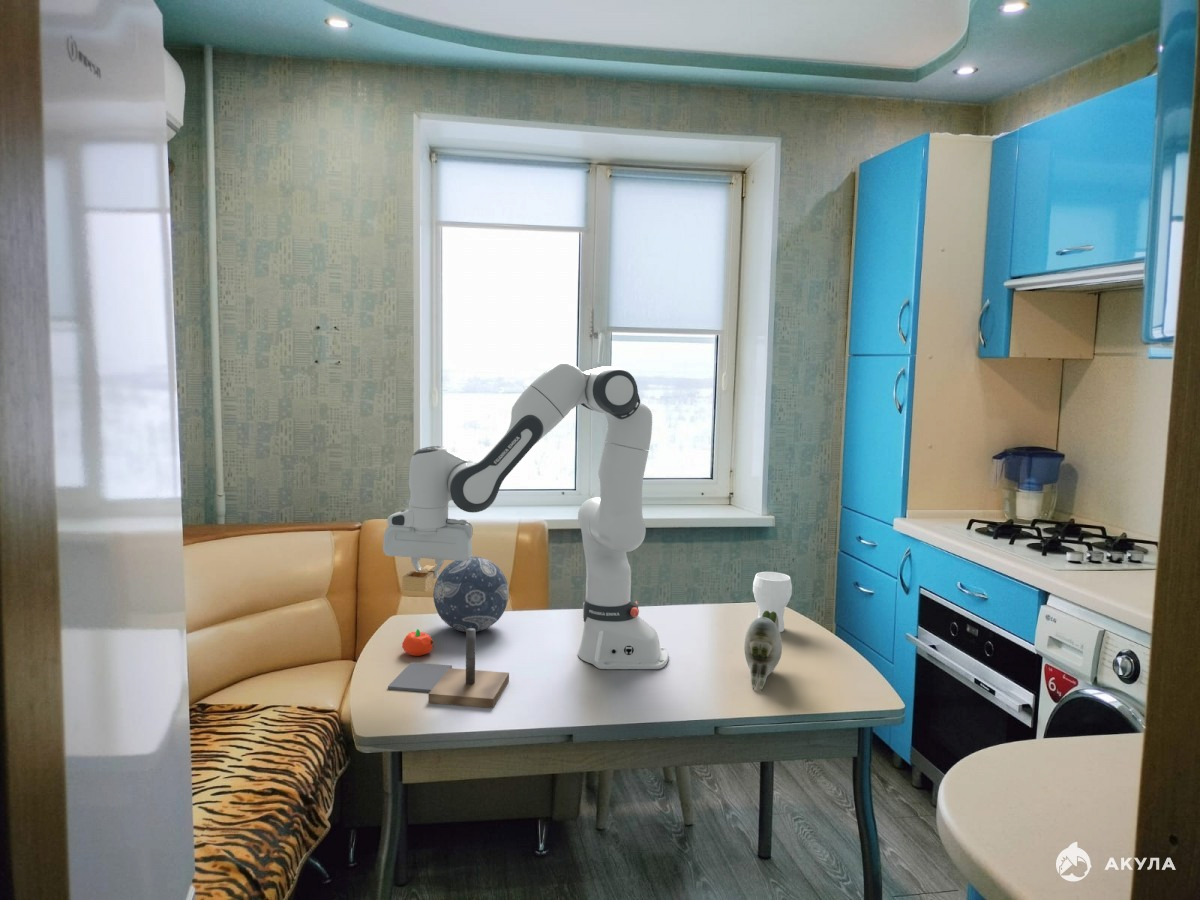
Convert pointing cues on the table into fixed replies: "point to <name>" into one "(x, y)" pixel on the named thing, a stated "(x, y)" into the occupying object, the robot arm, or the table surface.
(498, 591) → the decorative ball
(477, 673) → the stand
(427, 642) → the pumpkin
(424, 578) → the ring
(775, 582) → the cup
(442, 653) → the table surface
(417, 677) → the mat
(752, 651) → the toy
